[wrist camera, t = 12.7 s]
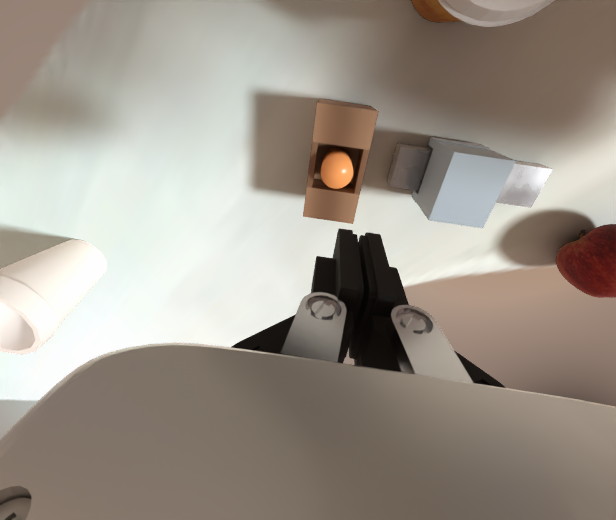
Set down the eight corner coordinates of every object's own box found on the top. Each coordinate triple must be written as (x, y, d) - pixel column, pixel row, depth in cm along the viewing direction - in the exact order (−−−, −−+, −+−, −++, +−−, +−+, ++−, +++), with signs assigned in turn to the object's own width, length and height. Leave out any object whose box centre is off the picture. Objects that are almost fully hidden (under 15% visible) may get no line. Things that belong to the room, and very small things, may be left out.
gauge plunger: (354, 150, 27) (356, 158, 24) (348, 179, 29) (349, 190, 26) (324, 145, 27) (323, 153, 24) (320, 175, 29) (318, 186, 26)
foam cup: (63, 280, 44) (-28, 347, 33) (39, 225, 39) (-78, 282, 28) (125, 288, 44) (54, 358, 33) (108, 234, 39) (18, 295, 28)
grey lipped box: (480, 144, 29) (516, 159, 23) (455, 202, 32) (482, 229, 26) (430, 137, 29) (454, 150, 23) (411, 196, 32) (428, 221, 26)
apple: (538, 275, 37) (584, 319, 30) (547, 220, 33) (603, 256, 26) (606, 265, 35) (671, 309, 28) (624, 206, 31) (704, 241, 25)
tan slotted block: (370, 105, 28) (378, 111, 23) (350, 202, 34) (353, 223, 28) (320, 98, 28) (317, 102, 23) (307, 195, 34) (303, 216, 28)
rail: (540, 164, 30) (552, 169, 28) (520, 200, 32) (530, 207, 30) (397, 143, 30) (400, 146, 28) (386, 181, 32) (389, 186, 30)
